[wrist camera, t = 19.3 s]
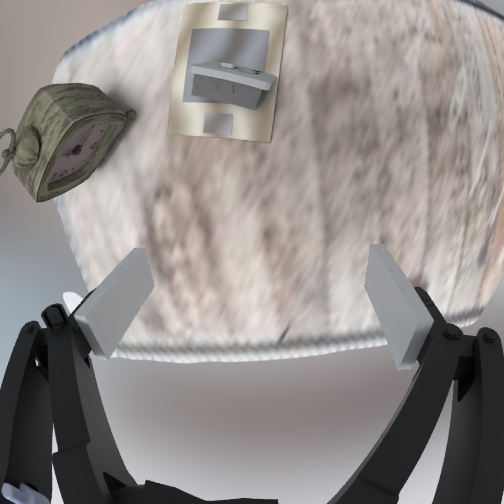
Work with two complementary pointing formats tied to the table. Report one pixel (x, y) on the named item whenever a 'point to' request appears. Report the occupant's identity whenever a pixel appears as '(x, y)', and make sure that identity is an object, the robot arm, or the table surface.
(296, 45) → the table surface
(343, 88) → the table surface
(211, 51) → the mounting board
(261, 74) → the electrical switch
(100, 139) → the tabletop clock
